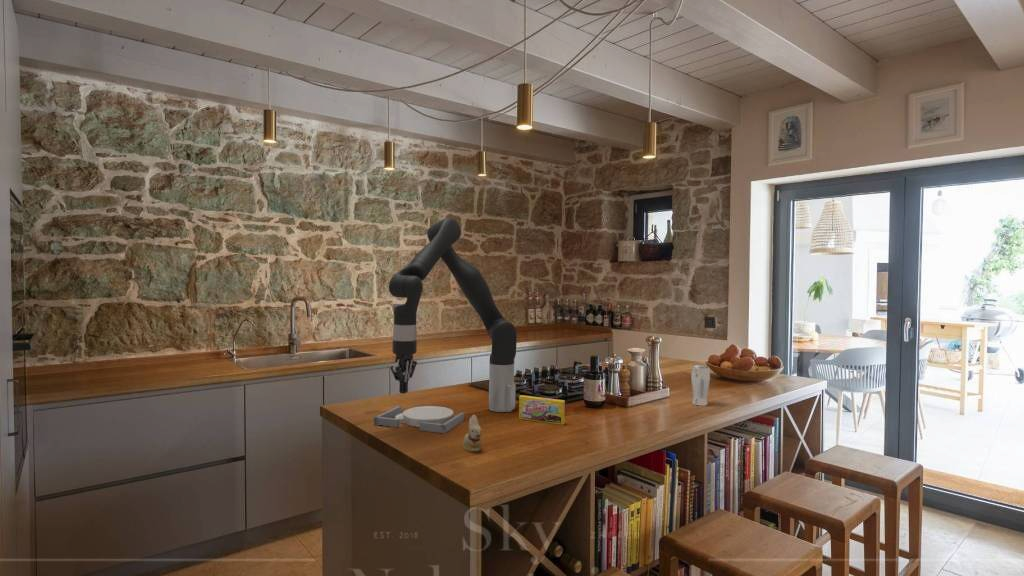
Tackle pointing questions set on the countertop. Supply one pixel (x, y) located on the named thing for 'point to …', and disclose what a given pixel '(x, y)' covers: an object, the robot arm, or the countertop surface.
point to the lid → (425, 415)
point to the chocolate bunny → (473, 436)
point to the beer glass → (700, 384)
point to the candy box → (542, 409)
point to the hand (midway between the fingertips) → (403, 392)
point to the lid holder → (388, 420)
